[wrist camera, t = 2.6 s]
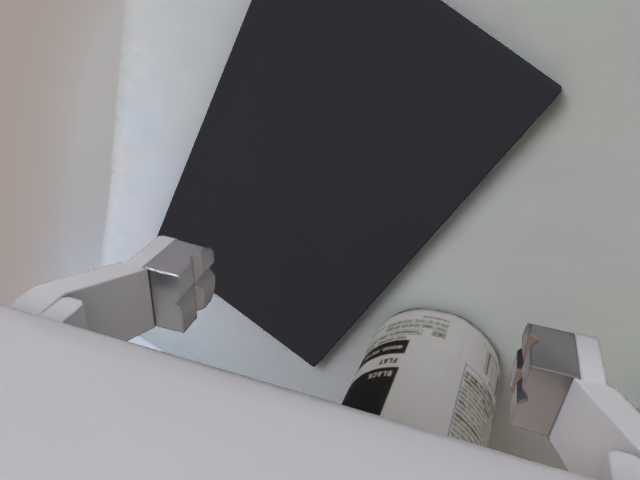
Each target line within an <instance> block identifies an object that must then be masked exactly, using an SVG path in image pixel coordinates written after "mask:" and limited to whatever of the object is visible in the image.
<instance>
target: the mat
mask: <svg viewBox="0 0 640 480" xmlns="http://www.w3.org/2000/svg"><path fill="white" fill-rule="evenodd" d="M561 88H562V87H561V86H560V85H559V84H557V83H556V82H555V81H553V80H552V79H550V78H549V77H548V76H546V75H545V74H543V73H542V72H541V71H539V70H538V69H536V68H535V67H534V66H532V65H531V64H529V63H528V62H527V61H525V60H524V59H522V58H521V57H520V56H518V55H517V54H515V53H514V52H513V51H511V50H510V49H508V48H507V47H506V46H504V45H503V44H501V43H500V42H499V41H497V40H496V39H494V38H493V37H492V36H490V35H489V34H487V33H486V32H484V31H483V30H482V29H480V28H479V27H477V26H476V25H475V24H473V23H472V22H470V21H469V20H468V19H466V18H465V17H463V16H462V15H461V14H459V13H458V12H456V11H455V10H454V9H452V8H451V7H449V6H448V5H447V4H445V3H444V2H442V1H441V0H252V1H251V3H250V6H249V8H248V11H247V13H246V16H245V18H244V21H243V23H242V26H241V28H240V31H239V33H238V36H237V38H236V41H235V43H234V46H233V48H232V51H231V53H230V56H229V58H228V61H227V63H226V66H225V68H224V71H223V73H222V76H221V78H220V81H219V83H218V86H217V88H216V91H215V93H214V96H213V98H212V101H211V103H210V106H209V108H208V111H207V113H206V116H205V118H204V121H203V123H202V126H201V128H200V131H199V133H198V136H197V138H196V141H195V143H194V146H193V148H192V151H191V153H190V156H189V158H188V161H187V163H186V166H185V168H184V171H183V173H182V176H181V178H180V181H179V183H178V186H177V188H176V191H175V193H174V196H173V198H172V201H171V203H170V206H169V208H168V211H167V213H166V216H165V218H164V221H163V223H162V226H161V228H160V231H159V233H158V236H167V237H171V238H176V239H180V240H184V241H187V242H191V243H195V244H199V245H203V246H207V247H210V248H211V249H212V250H213V251H214V260H215V262H214V263H213V264H212V265H211V266H210V268H211V270H212V271H213V273H214V274H215V279H216V284H215V291H214V293H216V294H217V295H218V296H220V297H221V298H222V299H224V300H225V301H226V302H228V303H229V304H230V305H232V306H233V307H234V308H236V309H237V310H238V311H240V312H241V313H242V314H244V315H245V316H246V317H248V318H249V319H250V320H252V321H253V322H254V323H256V324H257V325H258V326H260V327H261V328H262V329H264V330H265V331H266V332H268V333H269V334H270V335H272V336H273V337H274V338H276V339H277V340H278V341H280V342H281V343H282V344H284V345H285V346H286V347H288V348H289V349H290V350H292V351H293V352H294V353H296V354H297V355H298V356H300V357H301V358H302V359H304V360H305V361H306V362H308V363H309V364H310V365H312V366H313V367H315V366H316V365H317V364H318V363H319V362H320V360H321V359H322V358H323V357H324V356H325V355H326V354H327V353H328V352H329V350H330V349H331V348H332V347H333V346H334V345H335V344H336V343H337V341H338V340H339V339H340V338H341V337H342V336H343V335H344V334H345V333H346V331H347V330H348V329H349V328H350V327H351V326H352V325H353V324H354V322H355V321H356V320H357V319H358V318H359V317H360V316H361V315H362V314H363V312H364V311H365V310H366V309H367V308H368V307H369V306H370V305H371V303H372V302H373V301H374V300H375V299H376V298H377V297H378V296H379V295H380V293H381V292H382V291H383V290H384V289H385V288H386V287H387V286H388V284H389V283H390V282H391V281H392V280H393V279H394V278H395V277H396V276H397V274H398V273H399V272H400V271H401V270H402V269H403V268H404V267H405V265H406V264H407V263H408V262H409V261H410V260H411V259H412V258H413V257H414V255H415V254H416V253H417V252H418V251H419V250H420V249H421V248H422V247H423V245H424V244H425V243H426V242H427V241H428V240H429V239H430V238H431V236H432V235H433V234H434V233H435V232H436V231H437V230H438V229H439V228H440V226H441V225H442V224H443V223H444V222H445V221H446V220H447V219H448V217H449V216H450V215H451V214H452V213H453V212H454V211H455V210H456V209H457V207H458V206H459V205H460V204H461V203H462V202H463V201H464V200H465V198H466V197H467V196H468V195H469V194H470V193H471V192H472V191H473V190H474V188H475V187H476V186H477V185H478V184H479V183H480V182H481V181H482V179H483V178H484V177H485V176H486V175H487V174H488V173H489V172H490V171H491V169H492V168H493V167H494V166H495V165H496V164H497V163H498V162H499V160H500V159H501V158H502V157H503V156H504V155H505V154H506V153H507V152H508V150H509V149H510V148H511V147H512V146H513V145H514V144H515V143H516V141H517V140H518V139H519V138H520V137H521V136H522V135H523V134H524V133H525V131H526V130H527V129H528V128H529V127H530V126H531V125H532V124H533V122H534V121H535V120H536V119H537V118H538V117H539V116H540V115H541V114H542V112H543V111H544V110H545V109H546V108H547V107H548V106H549V105H550V104H551V102H552V101H553V100H554V99H555V98H556V97H557V96H558V95H559V93H560V92H561ZM158 236H157V237H158Z"/></svg>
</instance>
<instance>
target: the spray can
mask: <svg viewBox="0 0 640 480" xmlns="http://www.w3.org/2000/svg"><path fill="white" fill-rule="evenodd" d="M499 383H500V367H499V361H498V354H497V352H496V351H495V349H494V348H493V346H492V345H491V343H490V342H489V340H488V339H487V337H486V336H485V335H484V334H483V333H482V332H481V331H480V330H479V329H478V328H476V327H475V326H474V325H472V324H471V323H470V322H468V321H467V320H466V319H464V318H462V317H460V316H458V315H454V314H451V313H448V312H446V311H442V310H435V309H425V308H415V309H409V310H406V311H403V312H400V313H397V314H396V315H394V316H393V317H392V318H390V319H389V320H388V321H386V322H385V323H384V324H383V325H382V326H381V327H380V329H379V330H378V332H377V333H376V335H375V337H374V339H373V341H372V343H371V345H370V347H369V349H368V350H367V353H366V355H365V357H364V359H363V361H362V363H361V365H360V368H359V370H358V371H357V373H356V375H355V377H354V379H353V382H352V384H351V386H350V388H349V390H348V392H347V394H346V396H345V398H344V400H343V403H342V405H345V406H348V407H351V408H355V409H358V410H362V411H365V412H368V413H372V414H375V415H379V416H382V417H385V418H389V419H392V420H396V421H399V422H402V423H406V424H409V425H413V426H416V427H419V428H423V429H426V430H430V431H433V432H436V433H440V434H443V435H447V436H450V437H453V438H457V439H460V440H464V441H467V442H470V443H474V444H477V445H481V446H484V447H487V448H489V443H490V437H491V431H492V425H493V420H494V414H495V407H496V401H497V395H498V389H499Z"/></svg>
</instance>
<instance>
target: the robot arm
mask: <svg viewBox="0 0 640 480" xmlns="http://www.w3.org/2000/svg"><path fill="white" fill-rule="evenodd" d="M214 262H215V260H214V251H213V250H212V249H211V248H210V247H207V246H203V245H199V244H195V243H191V242H187V241H184V240H180V239H176V238H171V237H167V236H158V237H157V238H155V239H154V240H153V241H152V242H151V243H149V244H148V245H147V246H146V247H145V248H143V249H142V250H141V251H140V252H139V253H137V254H136V255H135V256H134V257H133V258H131V259H130V260H129V261H128V262H127V263H122V262H120V263H116V264H112V265H109V266H105V267H101V268H98V269H94V270H91V271H87V272H84V273H80V274H77V275H73V276H69V277H66V278H62V279H58V280H55V281H51V282H47V283H44V284H40V285H36V286H34V287H33V288H32V289H31V290H29V291H28V292H26V293H25V294H23V295H22V296H21V297H19V298H18V299H16V300H15V301H14V302H12V303H11V304H10V305H8V306H5V305H1V304H0V480H640V413H639V412H638V411H637V410H636V409H635V408H634V407H633V406H632V405H631V404H630V403H629V402H628V401H627V400H626V399H625V398H624V397H623V396H622V395H621V394H620V393H619V392H618V391H617V390H616V389H615V388H612V387H608V384H607V379H606V374H605V369H604V364H603V359H602V354H601V349H600V344H599V340H598V339H597V338H596V337H592V336H587V335H582V334H577V333H570V332H565V331H561V330H556V329H552V328H548V327H543V326H539V325H534V324H530V323H527V325H526V327H525V330H524V333H523V336H522V348H521V349H520V350H518V351H517V354H516V357H515V360H514V364H513V368H512V373H511V384H510V389H511V391H512V392H513V396H512V399H511V402H510V425H512V426H515V427H518V428H521V429H525V430H528V431H531V432H534V433H538V434H541V435H544V436H547V437H549V438H548V439H549V441H550V442H551V444H552V446H553V447H554V449H555V450H556V452H557V454H558V455H559V457H560V458H561V460H562V462H563V463H564V465H565V467H566V468H567V470H568V471H565V470H562V469H558V468H555V467H552V466H548V465H545V464H542V463H538V462H535V461H531V460H528V459H525V458H521V457H518V456H514V455H511V454H508V453H504V452H501V451H498V450H494V449H491V448H487V447H484V446H481V445H477V444H474V443H470V442H467V441H464V440H460V439H457V438H453V437H450V436H447V435H443V434H440V433H436V432H433V431H430V430H426V429H423V428H419V427H416V426H413V425H409V424H406V423H402V422H399V421H396V420H392V419H389V418H385V417H382V416H379V415H375V414H372V413H368V412H365V411H362V410H358V409H355V408H351V407H348V406H345V405H341V404H338V403H334V402H331V401H328V400H324V399H321V398H317V397H314V396H311V395H307V394H304V393H300V392H297V391H294V390H290V389H287V388H283V387H280V386H277V385H273V384H270V383H266V382H263V381H260V380H256V379H253V378H249V377H246V376H243V375H239V374H236V373H233V372H229V371H226V370H222V369H219V368H216V367H212V366H209V365H205V364H202V363H199V362H195V361H192V360H188V359H185V358H182V357H178V356H175V355H171V354H168V353H165V352H161V351H158V350H154V349H151V348H148V347H144V346H141V345H137V344H134V343H131V342H127V341H128V340H130V339H132V338H134V337H136V336H138V335H140V334H142V333H144V332H146V331H148V330H150V329H152V328H154V327H155V326H158V327H162V328H166V329H170V330H174V331H178V332H182V333H184V332H185V331H186V330H187V329H188V327H189V326H190V325H191V324H192V323H193V322H194V320H195V319H196V318H197V315H196V311H198V310H201V309H203V308H205V307H206V306H207V305H208V303H209V302H210V301H211V298H212V296H213V294H214V291H215V284H216V279H215V274H214V273H213V271H212V270H211V268H210V266H211V265H212V264H213V263H214Z"/></svg>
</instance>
